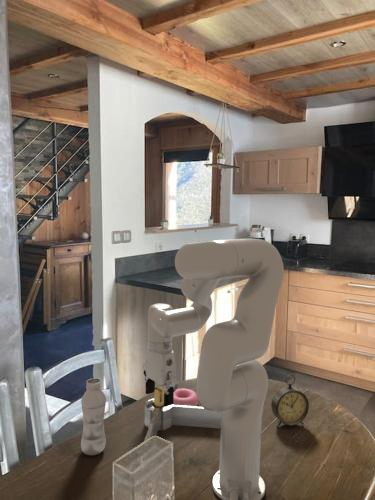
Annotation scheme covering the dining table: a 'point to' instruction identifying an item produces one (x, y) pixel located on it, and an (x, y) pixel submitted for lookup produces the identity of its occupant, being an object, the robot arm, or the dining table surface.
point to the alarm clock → (290, 405)
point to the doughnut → (185, 397)
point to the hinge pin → (159, 397)
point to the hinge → (178, 417)
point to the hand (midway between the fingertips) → (159, 398)
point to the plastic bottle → (93, 418)
